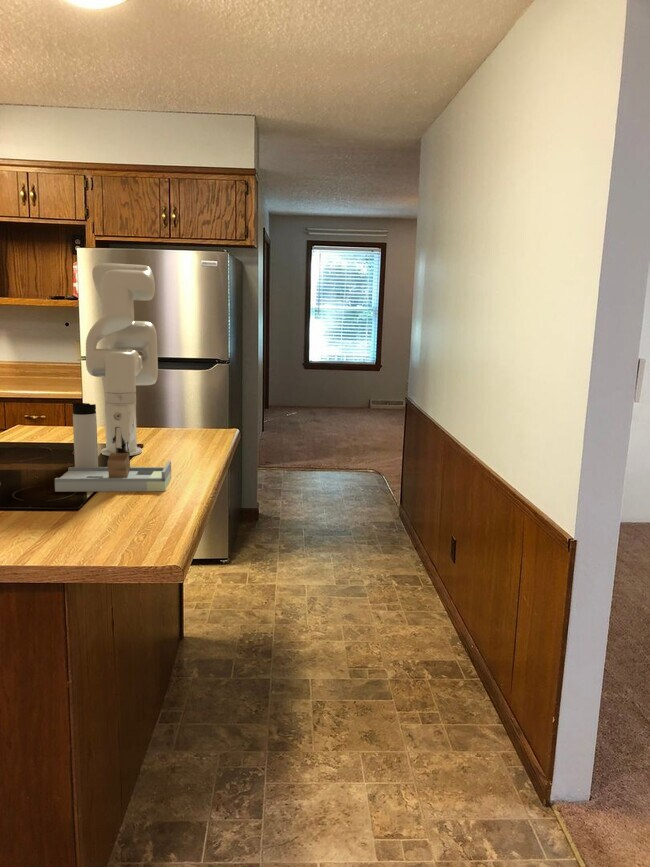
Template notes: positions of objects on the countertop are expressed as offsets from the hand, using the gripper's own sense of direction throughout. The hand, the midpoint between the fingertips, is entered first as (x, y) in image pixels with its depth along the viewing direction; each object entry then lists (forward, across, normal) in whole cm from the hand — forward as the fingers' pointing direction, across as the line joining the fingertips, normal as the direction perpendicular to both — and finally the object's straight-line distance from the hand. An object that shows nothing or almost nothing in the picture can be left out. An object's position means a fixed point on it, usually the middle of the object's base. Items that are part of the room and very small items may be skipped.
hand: (123, 467), depth 169 cm
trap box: (+4, -2, +2) cm, 5 cm away
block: (+1, -3, 0) cm, 3 cm away
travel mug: (+4, +14, +13) cm, 20 cm away
